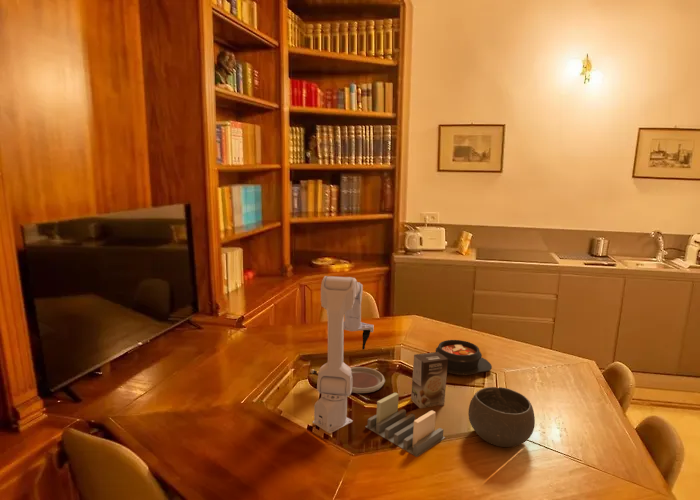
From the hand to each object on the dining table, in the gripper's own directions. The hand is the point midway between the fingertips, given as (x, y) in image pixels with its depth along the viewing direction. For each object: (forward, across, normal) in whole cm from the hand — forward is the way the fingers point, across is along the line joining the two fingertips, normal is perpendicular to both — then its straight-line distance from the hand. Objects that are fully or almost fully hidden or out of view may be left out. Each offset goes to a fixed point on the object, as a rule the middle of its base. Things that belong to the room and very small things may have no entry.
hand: (352, 347), depth 173 cm
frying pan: (+10, +2, +6) cm, 12 cm away
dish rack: (+5, -19, +35) cm, 41 cm away
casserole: (+13, -38, -10) cm, 42 cm away
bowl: (+6, -46, +34) cm, 58 cm away
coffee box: (+8, -26, +17) cm, 33 cm away
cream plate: (+4, -25, +40) cm, 47 cm away
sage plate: (+5, -14, +31) cm, 35 cm away
